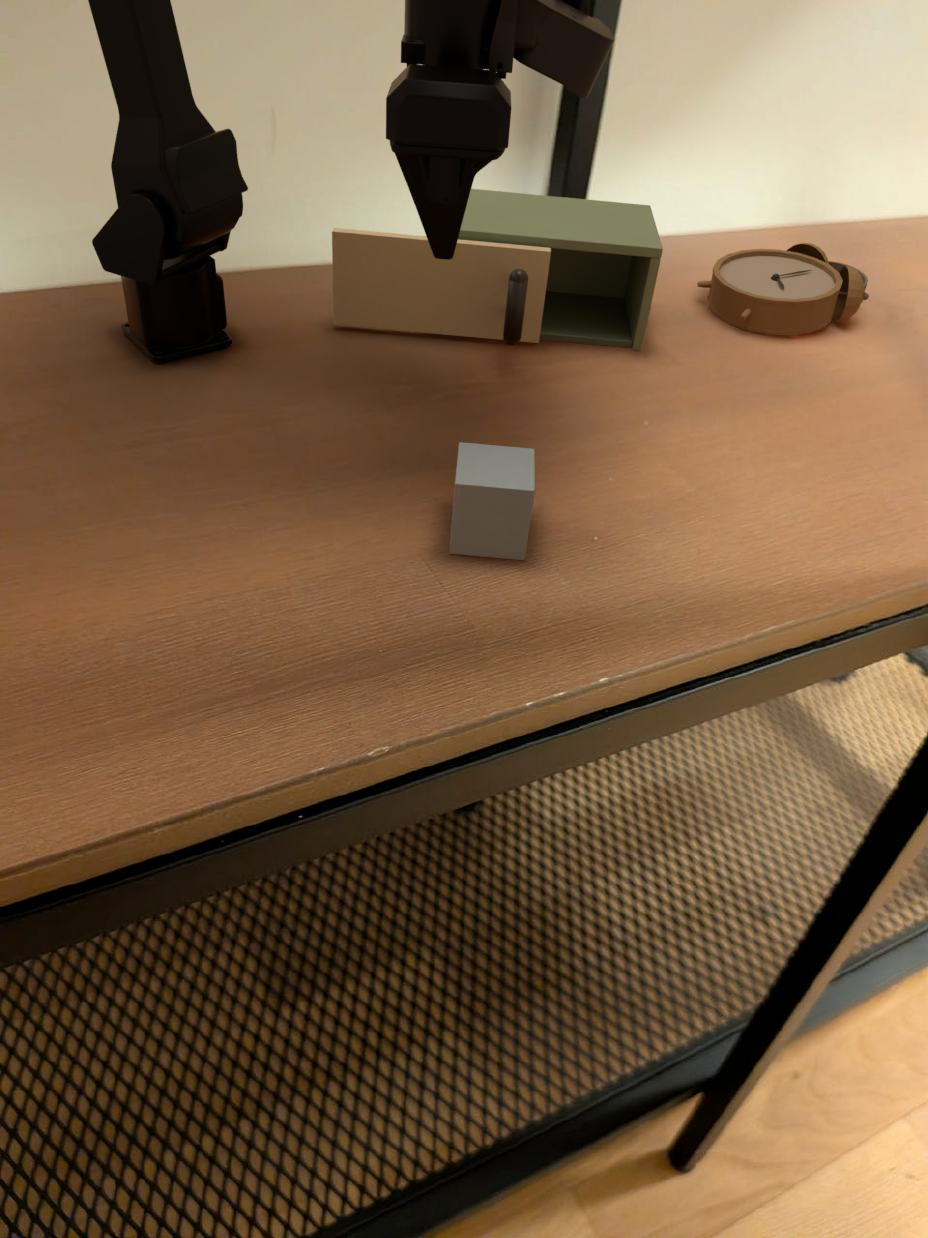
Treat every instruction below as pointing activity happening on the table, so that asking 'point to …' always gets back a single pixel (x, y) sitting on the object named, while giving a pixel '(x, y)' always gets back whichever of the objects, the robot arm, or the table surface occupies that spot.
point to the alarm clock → (784, 290)
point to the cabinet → (579, 260)
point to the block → (492, 501)
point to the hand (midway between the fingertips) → (446, 230)
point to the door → (439, 286)
